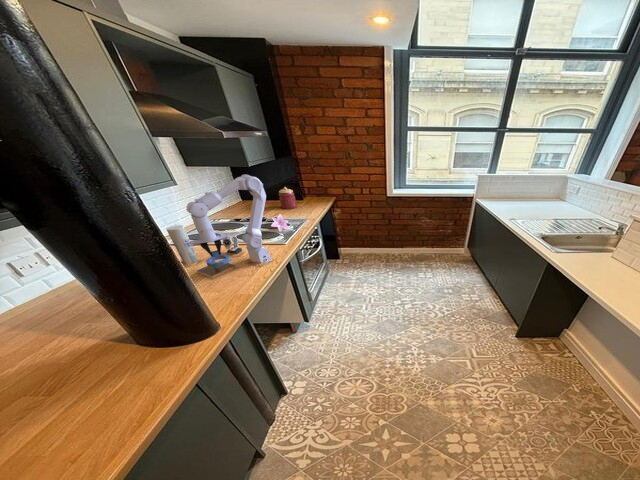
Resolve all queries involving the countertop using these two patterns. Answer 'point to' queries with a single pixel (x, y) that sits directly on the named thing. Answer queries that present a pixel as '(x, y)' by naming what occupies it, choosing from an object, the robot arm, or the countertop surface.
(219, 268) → the platform
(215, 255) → the ring
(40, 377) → the countertop surface
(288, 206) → the kitchen canister
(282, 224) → the lily
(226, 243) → the watch
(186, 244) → the spray can
